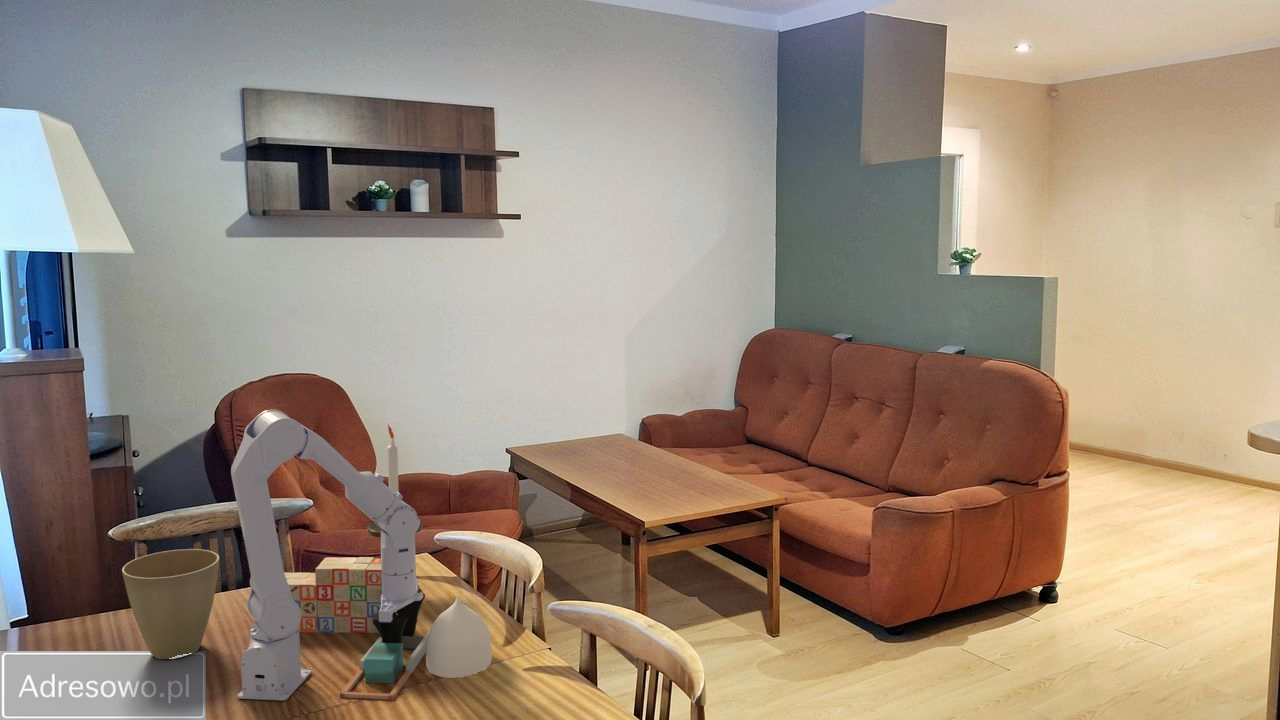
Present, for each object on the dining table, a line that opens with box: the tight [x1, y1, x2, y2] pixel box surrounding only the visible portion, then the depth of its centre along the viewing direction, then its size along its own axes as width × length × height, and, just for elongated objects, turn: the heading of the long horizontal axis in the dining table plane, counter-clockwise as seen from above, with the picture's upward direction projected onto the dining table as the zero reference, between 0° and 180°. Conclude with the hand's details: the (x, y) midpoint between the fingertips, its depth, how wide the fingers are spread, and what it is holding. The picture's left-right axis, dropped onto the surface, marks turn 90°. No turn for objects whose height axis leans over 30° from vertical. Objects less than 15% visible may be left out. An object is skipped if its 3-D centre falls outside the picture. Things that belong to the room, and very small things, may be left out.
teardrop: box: [425, 595, 493, 679], centre depth 153 cm, size 11×11×12 cm
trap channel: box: [339, 629, 430, 701], centre depth 154 cm, size 24×9×2 cm, turn 176°
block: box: [364, 643, 404, 684], centre depth 150 cm, size 6×4×4 cm
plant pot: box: [121, 548, 220, 660], centre depth 157 cm, size 15×15×16 cm
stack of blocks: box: [284, 556, 382, 634], centre depth 168 cm, size 21×6×12 cm, turn 90°
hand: (400, 644), depth 158 cm, fingers open, 7 cm apart
